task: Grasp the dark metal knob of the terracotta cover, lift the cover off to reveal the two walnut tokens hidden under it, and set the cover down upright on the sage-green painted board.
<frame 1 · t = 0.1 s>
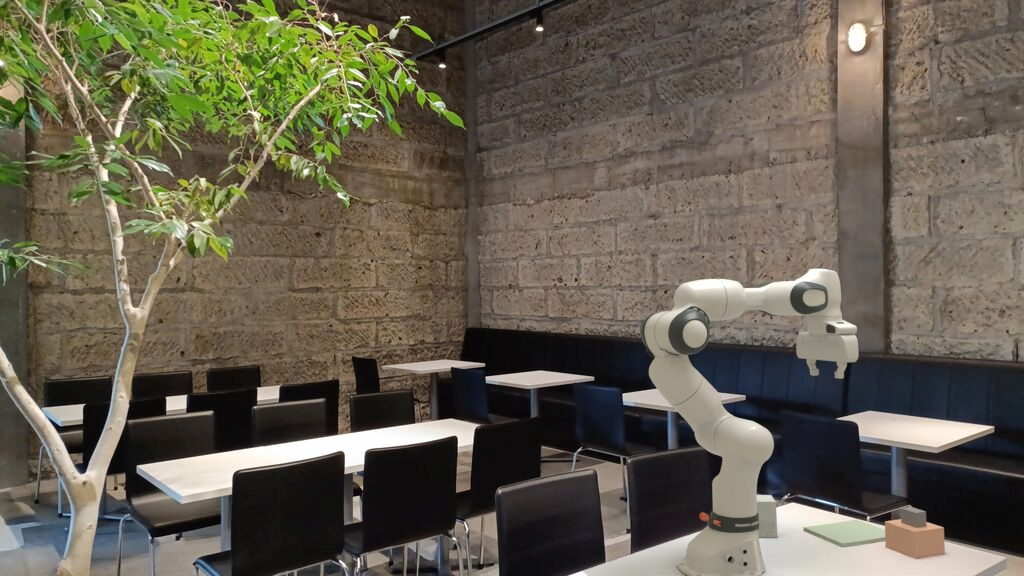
hand: (826, 376, 198), 48 cm above the table, fingers open, 8 cm apart
token b: (925, 552, 196), on the table
token a: (904, 549, 198), on the table
terracotta cover: (914, 550, 197), on the table
sage board: (850, 534, 211), on the table
small box: (765, 534, 214), on the table
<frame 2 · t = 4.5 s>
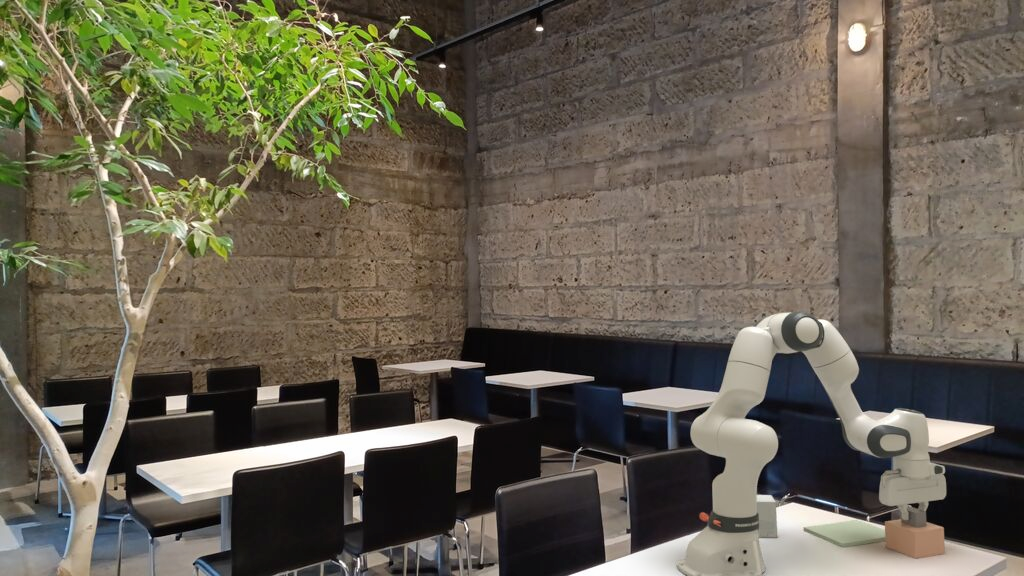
hand: (913, 518, 197), 9 cm above the table, fingers closed on terracotta cover, 3 cm apart
terracotta cover: (914, 550, 197), on the table, touching gripper
everything else where it was.
when the fingers open (11 cm above the table, at t = 12.5 s): terracotta cover drops 1 cm, resting on sage board.
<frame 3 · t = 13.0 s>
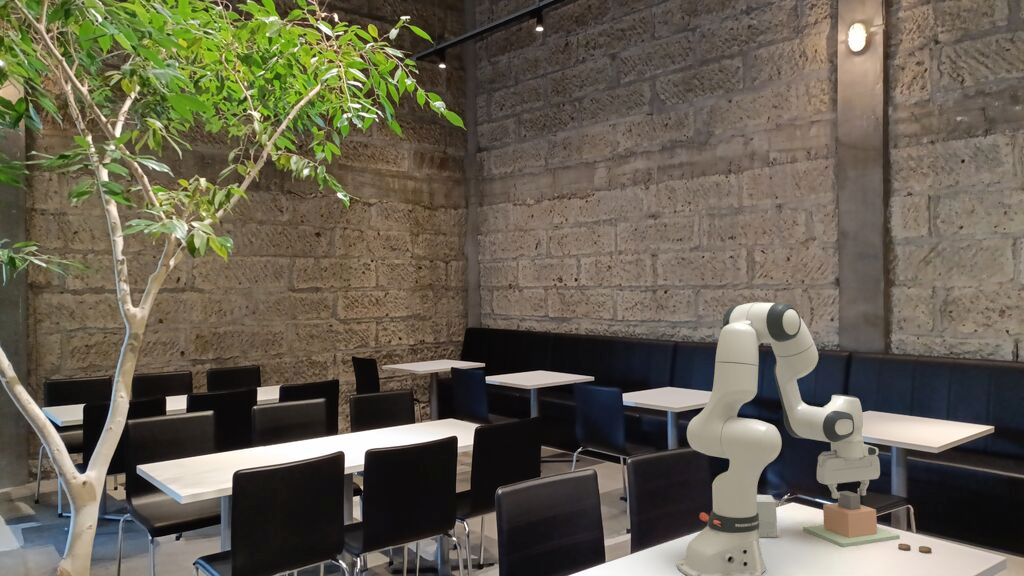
hand: (849, 496, 212), 11 cm above the table, fingers open, 8 cm apart
terracotta cover: (850, 531, 211), point 1 cm above the table, touching sage board
everything else where it was.
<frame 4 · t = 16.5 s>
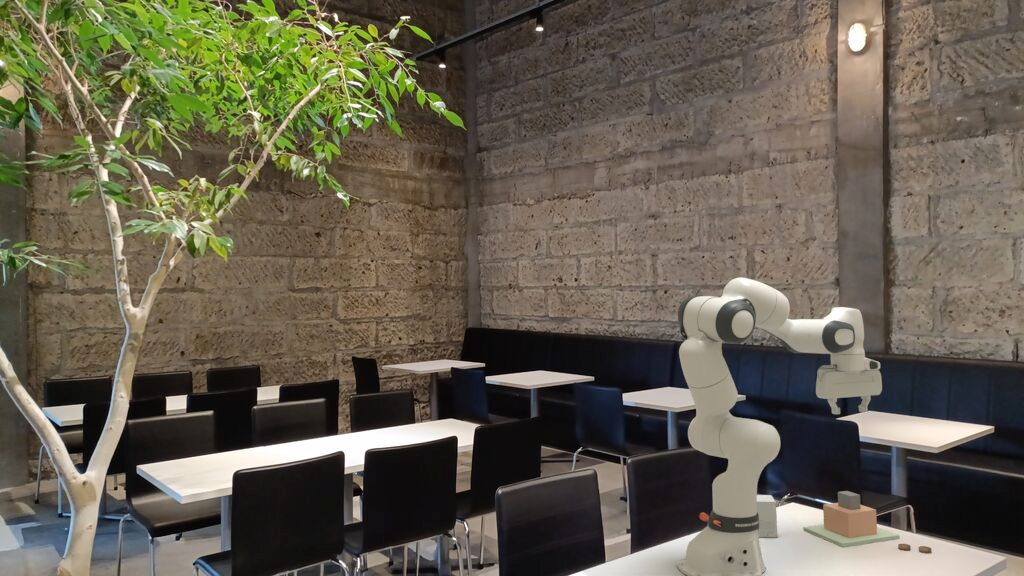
hand: (849, 412, 203), 37 cm above the table, fingers open, 8 cm apart
nothing on the table moved.
at the end: terracotta cover inside the target area on the sage board (0.1 cm from its centre), point 1.0 cm above the sage board's base; terracotta cover tilted 0°; the gripper is holding nothing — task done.
